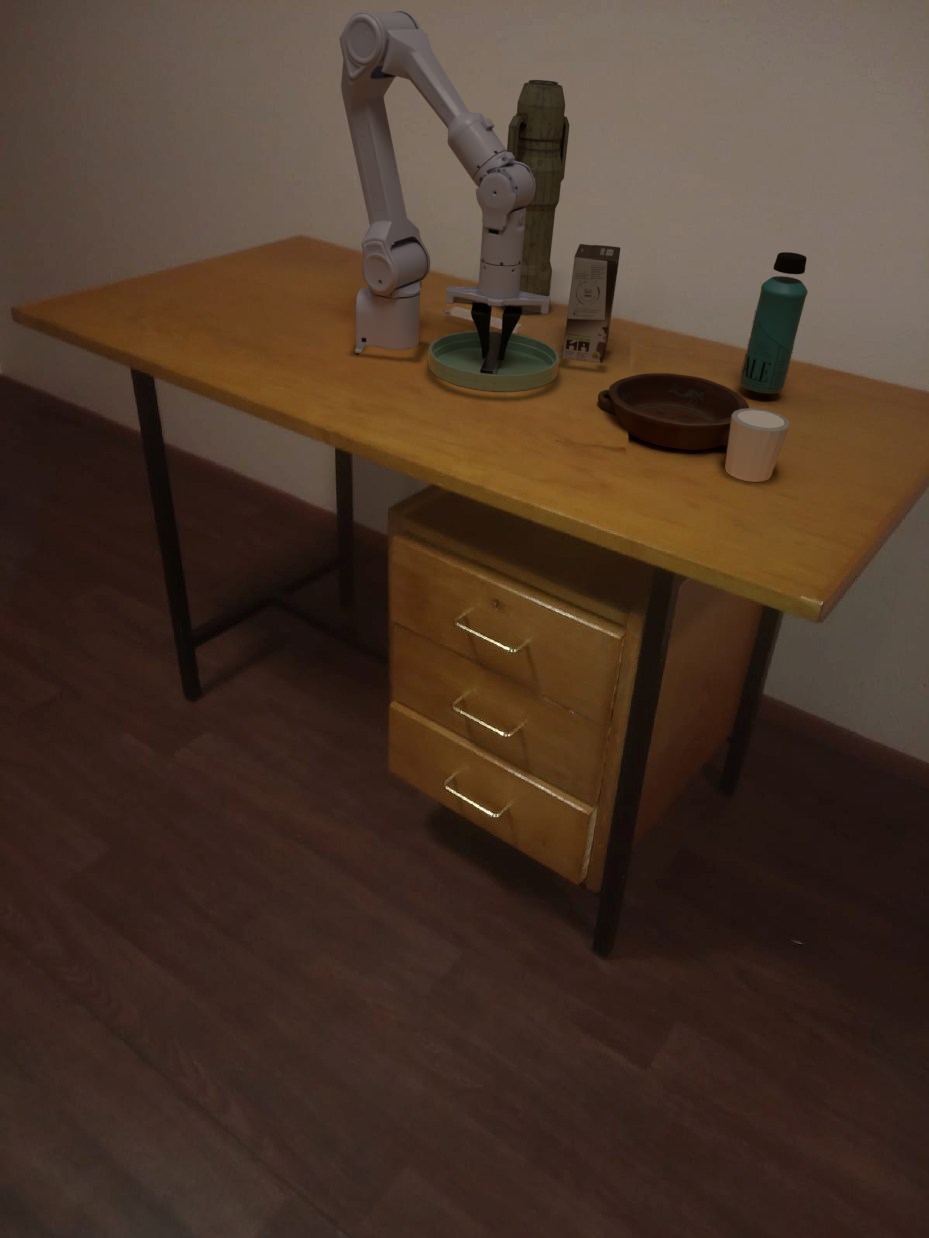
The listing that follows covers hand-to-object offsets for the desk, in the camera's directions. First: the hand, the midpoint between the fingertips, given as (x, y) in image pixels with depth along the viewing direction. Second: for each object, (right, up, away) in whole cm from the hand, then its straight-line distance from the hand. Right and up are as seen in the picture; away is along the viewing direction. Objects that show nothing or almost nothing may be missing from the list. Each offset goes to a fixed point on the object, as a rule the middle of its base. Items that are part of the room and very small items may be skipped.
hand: (493, 357), depth 139 cm
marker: (-2, +10, +20) cm, 22 cm away
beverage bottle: (+39, -6, +1) cm, 39 cm away
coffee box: (+14, +2, +10) cm, 18 cm away
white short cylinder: (+31, -20, -21) cm, 42 cm away
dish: (+23, -13, -12) cm, 30 cm away
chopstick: (0, -1, 0) cm, 1 cm away
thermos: (+6, +17, +31) cm, 36 cm away
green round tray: (0, -2, +1) cm, 3 cm away
